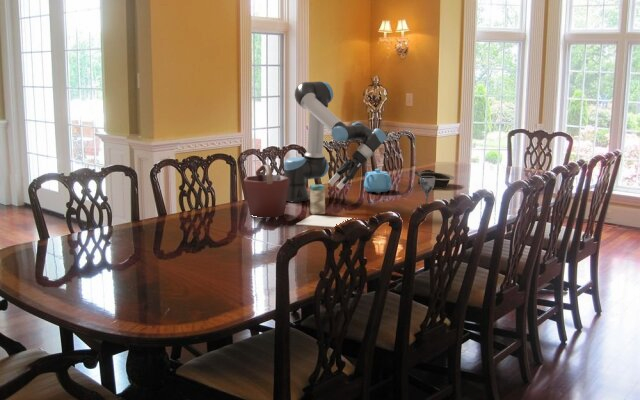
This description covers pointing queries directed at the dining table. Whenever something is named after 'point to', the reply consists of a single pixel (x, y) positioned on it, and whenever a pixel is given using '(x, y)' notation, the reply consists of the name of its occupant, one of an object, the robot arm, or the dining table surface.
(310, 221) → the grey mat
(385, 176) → the decorative pot
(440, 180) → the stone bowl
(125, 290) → the dining table surface
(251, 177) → the bucket
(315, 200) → the teal and beige block
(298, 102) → the robot arm
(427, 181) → the wine glass
